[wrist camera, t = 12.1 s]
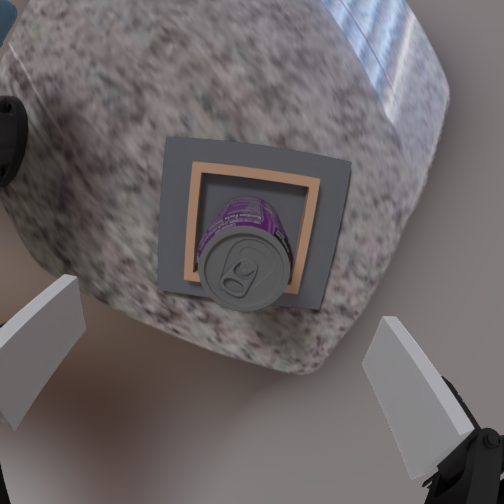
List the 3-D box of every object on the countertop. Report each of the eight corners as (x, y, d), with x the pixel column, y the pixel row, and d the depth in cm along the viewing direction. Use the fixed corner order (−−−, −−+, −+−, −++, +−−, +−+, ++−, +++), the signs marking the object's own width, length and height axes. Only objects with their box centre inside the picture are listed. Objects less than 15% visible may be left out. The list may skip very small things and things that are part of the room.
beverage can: (255, 270, 31) (257, 333, 20) (202, 236, 30) (173, 283, 18) (293, 219, 29) (318, 258, 18) (238, 182, 28) (227, 197, 16)
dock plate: (160, 286, 33) (155, 294, 31) (169, 137, 27) (163, 135, 25) (317, 305, 34) (321, 314, 32) (348, 162, 28) (355, 162, 26)
